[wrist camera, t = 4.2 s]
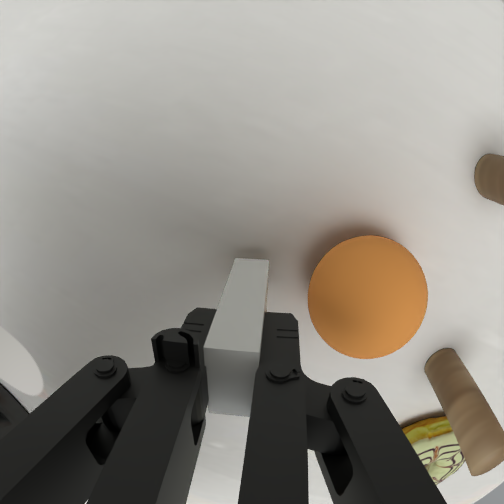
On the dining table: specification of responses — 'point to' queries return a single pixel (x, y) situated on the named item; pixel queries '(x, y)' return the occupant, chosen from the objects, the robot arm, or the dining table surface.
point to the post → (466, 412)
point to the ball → (367, 297)
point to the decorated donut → (435, 447)
